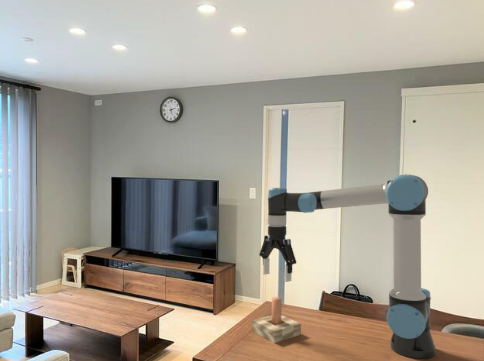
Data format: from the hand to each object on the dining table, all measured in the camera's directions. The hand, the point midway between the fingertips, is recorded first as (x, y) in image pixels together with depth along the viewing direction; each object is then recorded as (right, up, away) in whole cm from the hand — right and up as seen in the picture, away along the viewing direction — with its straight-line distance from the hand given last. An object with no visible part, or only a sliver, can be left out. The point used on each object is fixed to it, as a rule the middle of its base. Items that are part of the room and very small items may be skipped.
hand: (276, 277), depth 155 cm
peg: (0, -23, 0) cm, 23 cm away
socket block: (0, -23, 0) cm, 23 cm away
